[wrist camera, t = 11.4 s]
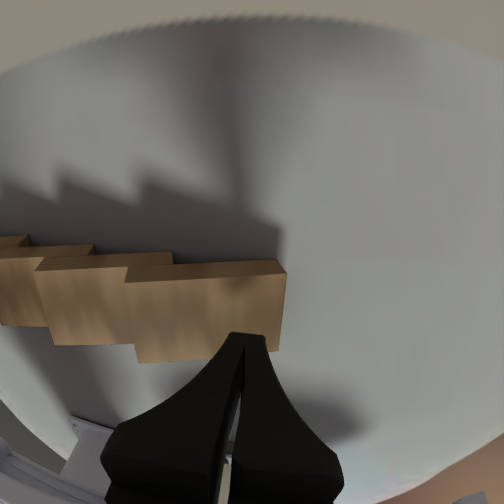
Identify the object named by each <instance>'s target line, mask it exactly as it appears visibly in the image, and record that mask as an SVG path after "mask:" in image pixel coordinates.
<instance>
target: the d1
mask: <svg viewBox="0 0 504 504" xmlns="http://www.w3.org/2000/svg"><path fill="white" fill-rule="evenodd" d="M286 278H287V273H286V271H285V270H284V269H283V267H282V266H281V265H280V264H279V262H278V261H277V260H276V259H267V260H249V261H230V262H212V263H193V264H173V265H153V266H132V267H128V269H127V273H126V277H125V281H124V286H125V293H126V299H127V306H128V312H129V318H130V324H131V329H132V335H133V340H134V345H135V350H136V355H137V360H138V363H156V362H173V361H188V360H201V359H212V358H213V356H214V355H215V354H216V353H217V351H218V350H219V349H220V347H221V346H222V344H223V343H224V341H225V340H226V338H227V336H228V335H229V333H230V332H232V331H233V332H241V333H250V334H258V335H264V337H265V338H266V346H267V351H268V352H274V351H278V349H279V341H280V332H281V324H282V315H283V306H284V297H285V288H286Z"/></svg>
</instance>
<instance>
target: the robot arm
mask: <svg viewBox="0 0 504 504" xmlns="http://www.w3.org/2000/svg"><path fill="white" fill-rule="evenodd" d="M240 394H241V405H240V416H239V422H238V428H237V433H236V439H235V444H234V449H233V454H232V462H231V476H230V489H229V496H228V502H227V504H333V501H334V500H335V499H336V497H337V496H338V495H339V493H340V492H341V491H342V489H343V487H344V477H343V473H342V469H341V465H340V462H339V460H338V457H337V455H336V453H334V452H333V451H332V450H331V449H330V448H329V447H328V446H326V445H325V444H324V443H323V442H322V441H321V440H320V439H319V438H318V437H317V436H316V435H315V434H314V432H313V431H312V430H311V429H310V428H309V427H308V425H307V424H306V423H305V422H304V421H303V419H302V418H301V417H300V416H299V414H298V413H297V411H296V410H295V409H294V407H293V406H292V404H291V402H290V401H289V399H288V398H287V396H286V394H285V392H284V390H283V389H282V387H281V385H280V382H279V380H278V378H277V376H276V374H275V371H274V369H273V366H272V363H271V361H270V358H269V354H268V351H267V346H266V338H265V337H264V335H258V334H250V333H241V332H233V331H232V332H230V333H229V335H228V336H227V338H226V340H225V341H224V343H223V344H222V346H221V347H220V349H219V350H218V351H217V353H216V354H215V355H214V356H213V358H212V359H211V360H210V361H209V363H208V364H207V365H206V366H205V367H204V368H203V369H202V370H201V371H200V372H199V373H198V374H197V375H196V376H195V377H194V378H193V379H192V380H191V381H190V382H189V383H188V384H186V385H185V386H184V387H183V388H182V389H180V390H179V391H178V392H176V393H175V394H174V395H172V396H171V397H170V398H168V399H167V400H165V401H164V402H162V403H161V404H159V405H157V406H155V407H154V408H152V409H150V410H148V411H147V412H145V413H143V414H141V415H139V416H137V417H134V418H132V419H130V420H127V421H125V422H122V423H120V424H118V425H117V427H116V428H115V430H112V429H109V428H106V427H103V426H100V425H97V424H94V423H91V422H88V421H85V420H82V419H79V418H77V417H74V416H70V418H69V421H70V423H71V425H72V427H73V429H74V431H75V433H76V435H77V437H78V439H79V440H78V442H77V444H76V446H75V448H74V449H73V451H72V453H71V455H70V457H69V459H68V461H67V463H66V464H65V466H64V468H63V470H62V472H61V474H60V475H58V474H56V473H54V472H52V471H50V470H47V469H46V468H44V467H42V466H40V465H38V464H36V463H34V462H32V461H30V460H28V459H26V458H25V457H23V456H21V455H19V454H17V453H16V452H14V451H12V450H11V449H10V447H9V445H8V444H7V443H6V442H5V440H4V439H2V437H0V504H218V500H219V494H220V487H221V481H222V475H223V468H224V462H225V456H226V450H227V444H228V439H229V435H230V431H231V427H232V424H233V420H234V416H235V413H236V409H237V405H238V402H239V398H240ZM452 504H488V501H487V498H486V495H485V492H483V491H482V492H479V493H476V494H473V495H470V496H467V497H463V498H461V499H459V500H457V501H455V502H453V503H452Z"/></svg>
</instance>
